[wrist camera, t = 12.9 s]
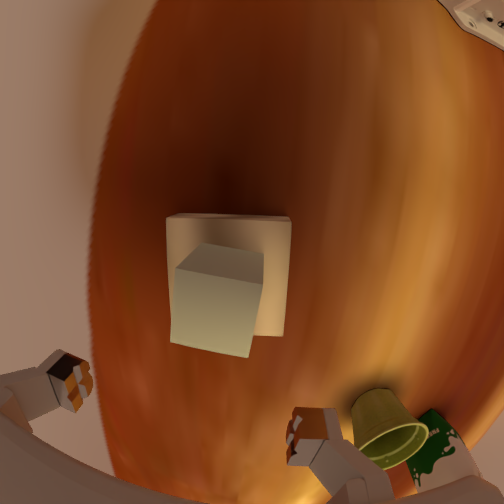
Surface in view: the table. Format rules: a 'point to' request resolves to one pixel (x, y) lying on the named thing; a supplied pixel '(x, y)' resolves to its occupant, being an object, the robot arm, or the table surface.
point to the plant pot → (385, 428)
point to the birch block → (244, 238)
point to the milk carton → (440, 456)
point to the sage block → (217, 299)
